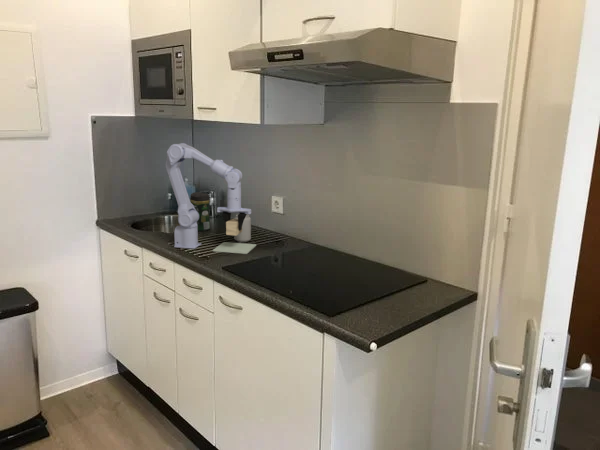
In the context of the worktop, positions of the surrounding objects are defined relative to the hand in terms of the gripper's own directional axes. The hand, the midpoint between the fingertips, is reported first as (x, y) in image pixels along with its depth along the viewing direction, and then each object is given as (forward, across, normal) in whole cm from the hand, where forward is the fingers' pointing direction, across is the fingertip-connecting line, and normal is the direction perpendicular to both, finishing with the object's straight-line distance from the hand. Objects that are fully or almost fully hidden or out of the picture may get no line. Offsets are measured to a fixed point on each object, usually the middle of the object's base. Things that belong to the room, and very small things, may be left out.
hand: (234, 229), depth 206 cm
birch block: (+2, 0, 0) cm, 2 cm away
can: (+9, -1, +15) cm, 17 cm away
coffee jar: (+9, -28, +31) cm, 42 cm away
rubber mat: (+8, 0, +1) cm, 8 cm away
